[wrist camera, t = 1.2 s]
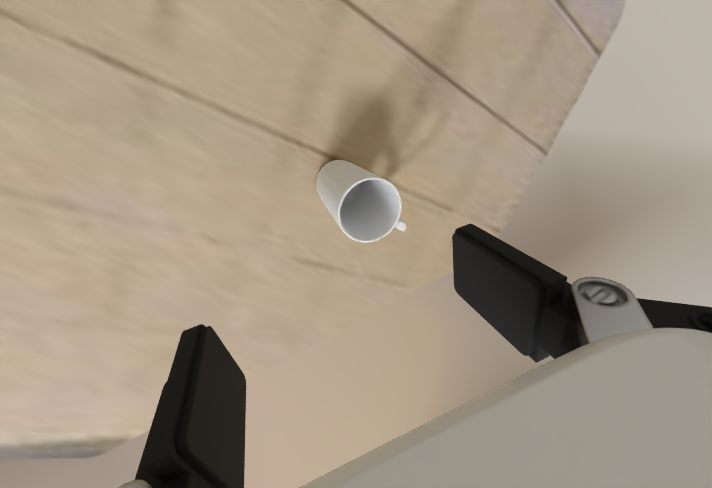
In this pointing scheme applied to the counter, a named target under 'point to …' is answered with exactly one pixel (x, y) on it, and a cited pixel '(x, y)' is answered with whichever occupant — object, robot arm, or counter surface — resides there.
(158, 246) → the counter surface
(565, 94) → the counter surface
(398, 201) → the mug
